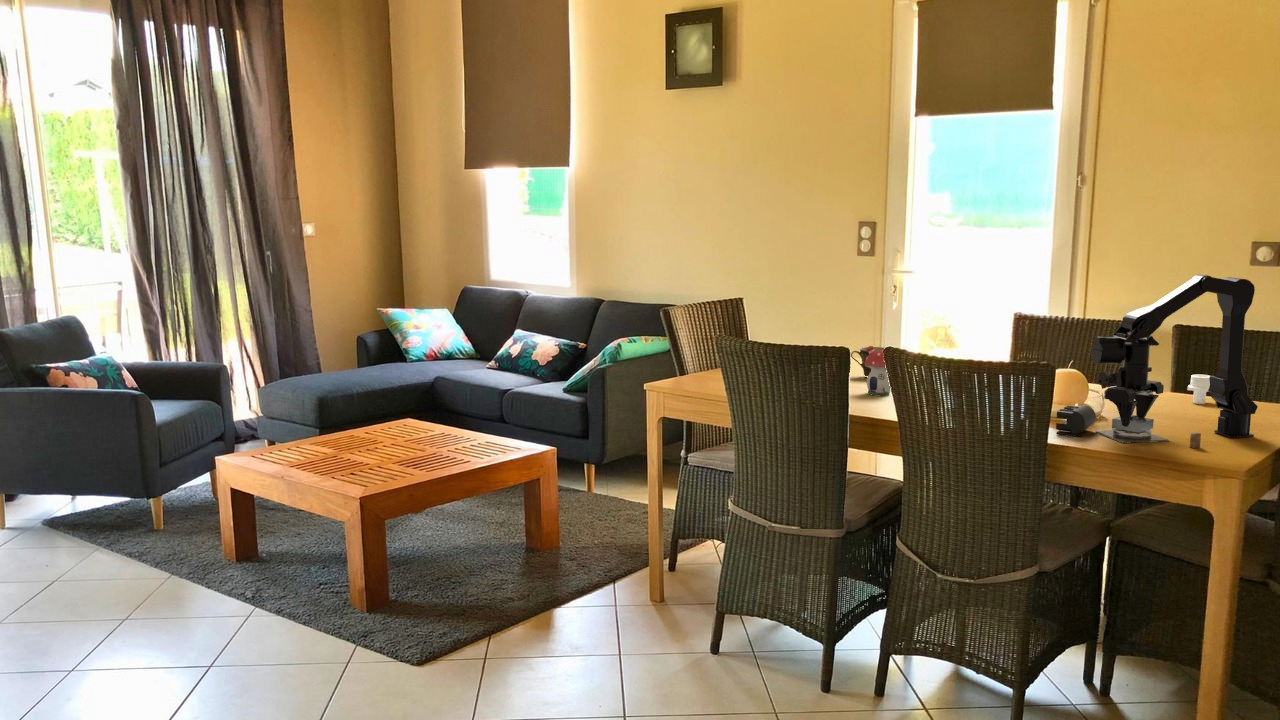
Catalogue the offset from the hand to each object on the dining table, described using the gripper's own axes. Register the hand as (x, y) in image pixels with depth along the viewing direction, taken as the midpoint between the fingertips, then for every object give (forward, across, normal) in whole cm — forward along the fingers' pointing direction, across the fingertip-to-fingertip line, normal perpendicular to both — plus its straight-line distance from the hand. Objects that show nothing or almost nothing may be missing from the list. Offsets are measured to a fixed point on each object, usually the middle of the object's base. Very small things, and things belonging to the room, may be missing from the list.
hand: (1132, 424), depth 256 cm
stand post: (+3, 0, +15) cm, 16 cm away
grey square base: (+1, 0, 0) cm, 1 cm away
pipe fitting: (+4, -57, -9) cm, 58 cm away
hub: (+3, 0, 0) cm, 3 cm away
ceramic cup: (+3, -20, -101) cm, 103 cm away
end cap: (+4, +6, -12) cm, 14 cm away
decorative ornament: (+3, +2, -79) cm, 79 cm away
